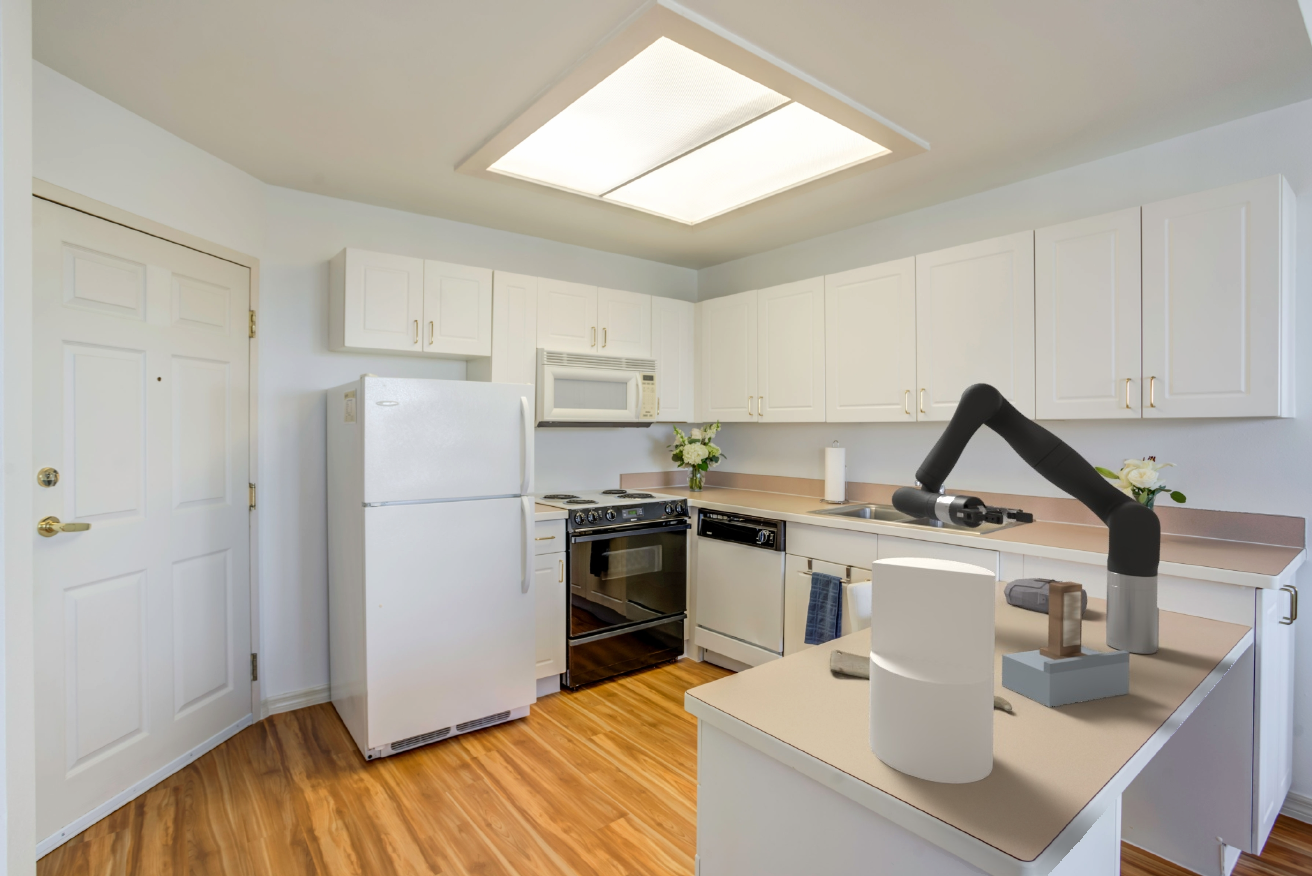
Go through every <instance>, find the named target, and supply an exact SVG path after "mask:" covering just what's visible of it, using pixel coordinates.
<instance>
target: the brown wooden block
mask: <svg viewBox="0 0 1312 876" xmlns="http://www.w3.org/2000/svg"><path fill="white" fill-rule="evenodd" d="M1082 589H1083V584H1082V583H1077V582H1073V581H1063V582H1059V583H1049V614H1048V625H1047V627H1048V628H1047V629H1048V632H1047V633H1048V635H1047V636H1048V637H1047V638H1048V639H1047V640H1048V641H1047V643H1048V644H1047V647H1046V646H1045V647H1040V648H1039V650H1040V655H1043V656H1045V657H1048V658H1051V659H1053V660H1058V659H1065V658H1072V657H1079V656H1086V655H1087V654H1084V653H1081V646H1082V629H1083V628H1082V621H1083V616H1082V615H1083V614H1082Z"/></svg>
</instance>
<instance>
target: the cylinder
mask: <svg viewBox="0 0 1312 876" xmlns="http://www.w3.org/2000/svg"><path fill="white" fill-rule="evenodd" d="M870 607H871V613H870V614H871V617H870V620H871V621H870V654H869V658H870V679H869V693H868V694H869V699H868V701H869V703H868V704H869V706H868V716H869V717H868V745H869V748H870V750H871V753H872V754H874V755H875V757H877V758H878V759H879V761H881V762H882V763H884V764H886V765H887V766H889V767H891V768H892V769H894V770H897V771H899V772H901V773H903V774H905V775H908V776H912V777H914V778H918V779H921V780H925V781H930V782H935V783H943V784H969V783H975V782H977V781H981V780H983V779H986V778H987V777H988V776H989V775H991V773H992V771H993V768H994V710H995V706H994V696H995V693H994V692H995V643H996V642H995V641H996V639H995V634H996V632H995V631H996V629H995V628H996V626H995V625H996V574H995V572H993V571H991V570H989V569H988V568H985V567H982V566H979V565H974V564H971V563H967V562H961V561H960V562H959V561H954V560H948V559H938V558H930V557H929V558H928V557H889V558H881V559H877V560H874V561H872V562H871V606H870Z"/></svg>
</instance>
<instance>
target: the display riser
mask: <svg viewBox="0 0 1312 876" xmlns="http://www.w3.org/2000/svg"><path fill="white" fill-rule="evenodd" d="M1081 653H1084V654H1087V655H1086V656H1079V657H1072V658H1065V659H1058V660H1053V659H1051V658H1048V657H1045V656H1043V655H1040V649H1036V650H1034V649H1033V650H1030V651H1029V650H1028V651H1021V652H1015V653H1007V654H1002V655H1001V656H1002V659H1001V664H1002V665H1001V667H1002V668H1001V686H1002V685H1003V686H1005V687H1004V688H1006V687H1007V688H1006V689H1008V688H1009V689H1008V690H1010V689H1011V691H1012V690H1014V691H1015V693H1017V692H1018V693H1017V694H1019V693H1020V694H1019V695H1021V694H1023V695H1025V696H1027V697H1030V698H1031V699H1030V698H1029V699H1030V700H1032V699H1034V700H1035V701H1034V700H1033V701H1034V702H1036V701H1037V702H1036V703H1038V702H1040V703H1042V704H1041V705H1043V704H1044V705H1043V706H1045V705H1046V706H1045V707H1047V706H1048V708H1049V707H1050V708H1055V707H1061V706H1064V705H1063V704H1067V705H1071V704H1070V703H1072V704H1076V703H1075V702H1078V703H1082V702H1081V701H1084V702H1088V700H1089V701H1093V699H1095V700H1099V699H1100V698H1101V699H1104V698H1103V697H1106V698H1110V697H1116V696H1115V695H1118V696H1122V695H1129V694H1130V693H1129V692H1130V691H1129V690H1130V687H1129V686H1130V652H1127V651H1124V650H1115V651H1107V652H1102V651H1099V650H1095V649H1092V648H1089V647H1088V646H1087V647H1086V646H1084V645H1081ZM1003 686H1002V687H1003ZM1014 691H1013V692H1014ZM1023 695H1022V696H1023ZM1025 696H1024V697H1025ZM1027 697H1026V698H1027ZM1040 703H1039V704H1040ZM1060 705H1061V706H1060ZM1052 706H1053V707H1052ZM1054 706H1055V707H1054Z"/></svg>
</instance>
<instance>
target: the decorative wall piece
mask: <svg viewBox="0 0 1312 876" xmlns="http://www.w3.org/2000/svg"><path fill="white" fill-rule="evenodd" d="M829 666H830V667H829V669H830V670H831V671H832V672H836V673H840V674H844V675H849V676H855V677H859V678H863V679H869V680H870V656H869V657H868V656H863V655H858V654H854V653H851V652H848V651H847V652H846V651H842V650H839V649H832V650H831V652H830V658H829ZM994 707H998V708H1002V709H1003V710H1004V711H1007V712H1011V711H1013V706H1012V705H1011V703H1010V702H1009V701H1008V700H1007V699H1005V698H1003V697H1001V696H998V695H994Z"/></svg>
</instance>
